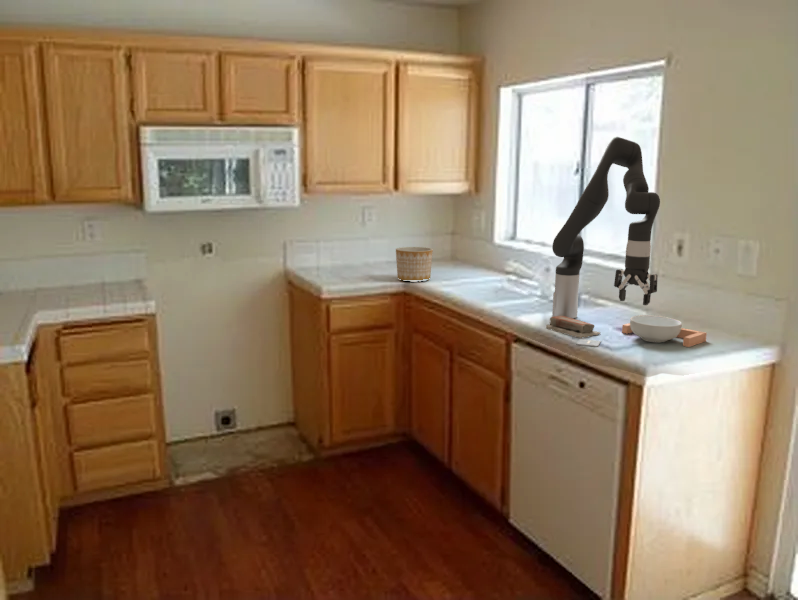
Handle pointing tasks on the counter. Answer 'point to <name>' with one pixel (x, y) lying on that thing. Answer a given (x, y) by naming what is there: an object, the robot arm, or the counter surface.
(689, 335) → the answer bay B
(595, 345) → the tile
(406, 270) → the planter
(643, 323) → the cereal bowl
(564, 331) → the packaged product
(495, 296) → the counter surface
